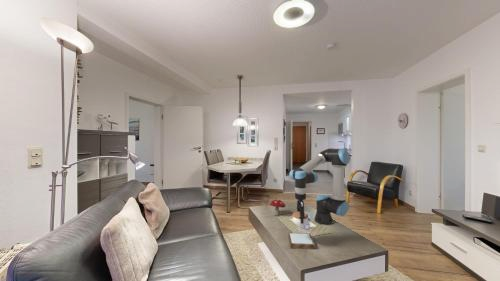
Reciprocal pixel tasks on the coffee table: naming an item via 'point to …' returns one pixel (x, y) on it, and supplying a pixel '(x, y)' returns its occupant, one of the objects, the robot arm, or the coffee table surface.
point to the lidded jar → (297, 220)
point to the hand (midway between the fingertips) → (300, 224)
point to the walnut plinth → (301, 241)
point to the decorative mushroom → (277, 206)
